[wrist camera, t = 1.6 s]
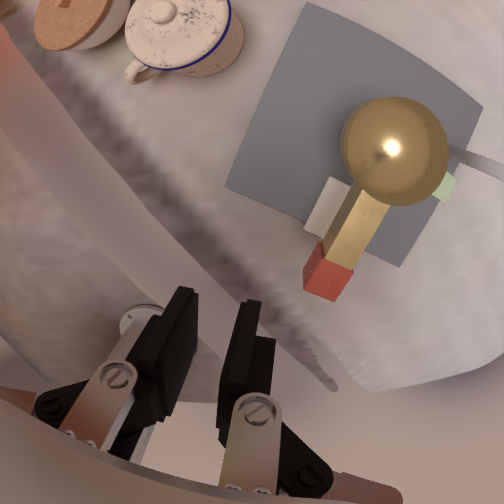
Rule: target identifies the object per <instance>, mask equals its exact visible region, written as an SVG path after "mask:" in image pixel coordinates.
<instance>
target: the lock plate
mask: <svg viewBox="0 0 504 504" xmlns="http://www.w3.org/2000/svg"><path fill="white" fill-rule="evenodd" d="M387 97H405V98H409V99H412V100H415V101H417V102H419V103H421V104H423V105H424V106H426V107H427V108H428V109H429V110H430V111H431V112H432V113H433V114H434V115H435V116H436V117H437V118H438V120H439V121H440V123H441V125H442V126H443V129H444V131H445V133H446V136H447V140H448V145H449V162H448V167H447V170H446V174H445V176H444V178H443V180H442V182H441V184H440V185H439V186H438V188H437V189H436V190H435V191H434V192H433V193H432V194H431V195H430V196H429V197H427V198H426V199H424V200H423V201H421V202H418V203H416V204H413V205H409V206H392V205H390V207H389V209H388V211H387V212H386V214H385V216H384V218H383V219H382V221H381V223H380V225H379V226H378V228H377V230H376V232H375V233H374V235H373V237H372V238H371V240H370V242H369V243H368V245H367V247H366V248H365V251H367V252H369V253H371V254H373V255H375V256H377V257H379V258H381V259H383V260H385V261H387V262H389V263H391V264H393V265H395V266H397V267H400V265H401V264H402V262H403V261H404V259H405V258H406V256H407V255H408V253H409V251H410V250H411V248H412V247H413V245H414V243H415V242H416V240H417V239H418V237H419V235H420V234H421V232H422V230H423V229H424V227H425V225H426V224H427V222H428V220H429V218H430V217H431V215H432V213H433V211H434V210H435V208H436V206H437V204H438V202H439V201H440V200H441V201H442V202H444V203H446V201H447V199H448V198H449V196H450V194H451V192H452V190H453V188H454V186H455V184H456V182H457V180H458V179H456V178H455V177H454V176H453V174H454V172H455V170H456V168H457V166H458V164H459V162H461V163H463V164H465V165H468V166H470V167H472V168H475V169H477V170H479V171H482V172H484V173H486V174H488V175H490V176H492V177H495V178H497V179H499V180H501V181H503V182H504V164H502V163H500V162H497V161H495V160H492V159H489V158H487V157H484V156H481V155H478V154H475V153H472V152H469V151H466V150H465V149H466V147H467V145H468V143H469V140H470V138H471V136H472V134H473V131H474V129H475V127H476V124H477V122H478V119H479V117H480V114H481V112H482V109H483V107H482V106H481V105H480V104H479V103H478V102H476V101H475V100H474V99H473V98H472V97H470V96H469V95H468V94H467V93H466V92H464V91H463V90H462V89H461V88H459V87H458V86H457V85H456V84H454V83H453V82H452V81H450V80H449V79H448V78H446V77H445V76H444V75H442V74H441V73H439V72H438V71H437V70H435V69H434V68H432V67H431V66H429V65H428V64H427V63H425V62H424V61H422V60H421V59H419V58H417V57H416V56H414V55H413V54H411V53H410V52H408V51H406V50H405V49H403V48H401V47H400V46H398V45H396V44H395V43H393V42H391V41H390V40H388V39H386V38H384V37H382V36H381V35H379V34H377V33H375V32H373V31H371V30H369V29H367V28H365V27H363V26H361V25H359V24H357V23H355V22H353V21H351V20H349V19H347V18H345V17H342V16H340V15H338V14H336V13H333V12H331V11H329V10H326V9H324V8H321V7H319V6H316V5H314V4H311V3H309V2H306V4H305V6H304V8H303V10H302V12H301V14H300V16H299V18H298V20H297V22H296V24H295V26H294V28H293V30H292V33H291V35H290V37H289V39H288V41H287V43H286V45H285V47H284V49H283V52H282V54H281V56H280V58H279V60H278V62H277V65H276V67H275V69H274V71H273V73H272V76H271V78H270V80H269V82H268V84H267V87H266V89H265V91H264V93H263V96H262V98H261V100H260V103H259V105H258V107H257V109H256V112H255V114H254V116H253V119H252V121H251V124H250V126H249V128H248V131H247V133H246V135H245V138H244V140H243V143H242V145H241V147H240V150H239V152H238V155H237V157H236V160H235V162H234V165H233V167H232V170H231V172H230V175H229V177H228V180H227V182H226V185H225V188H227V189H230V190H232V191H234V192H237V193H239V194H242V195H244V196H246V197H249V198H251V199H253V200H256V201H258V202H260V203H263V204H265V205H267V206H269V207H272V208H274V209H276V210H279V211H281V212H283V213H285V214H287V215H290V216H292V217H294V218H296V219H299V220H301V221H303V222H305V223H306V224H305V225H304V227H303V230H306V231H308V232H310V233H312V234H314V235H317V236H319V237H321V238H324V236H325V234H326V232H327V231H328V229H329V227H330V225H331V223H332V221H333V220H334V218H335V216H336V214H337V212H338V210H339V208H340V207H341V205H342V203H343V201H344V199H345V197H346V195H347V193H348V191H349V189H350V188H351V186H352V184H353V182H354V180H355V179H354V178H353V177H352V176H351V174H350V173H349V172H348V170H347V168H346V167H345V164H344V162H343V160H342V156H341V151H340V135H341V131H342V128H343V125H344V123H345V121H346V119H347V117H348V116H349V115H350V113H351V112H352V111H353V110H354V109H355V108H356V107H358V106H359V105H361V104H363V103H364V102H367V101H369V100H373V99H378V98H387Z"/></svg>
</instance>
